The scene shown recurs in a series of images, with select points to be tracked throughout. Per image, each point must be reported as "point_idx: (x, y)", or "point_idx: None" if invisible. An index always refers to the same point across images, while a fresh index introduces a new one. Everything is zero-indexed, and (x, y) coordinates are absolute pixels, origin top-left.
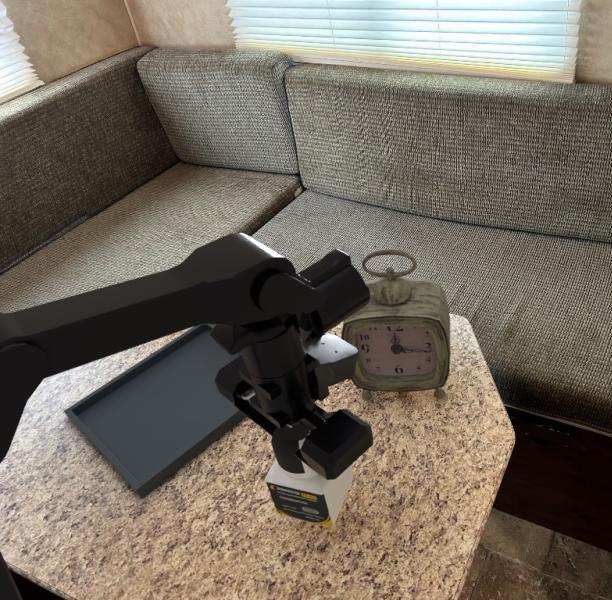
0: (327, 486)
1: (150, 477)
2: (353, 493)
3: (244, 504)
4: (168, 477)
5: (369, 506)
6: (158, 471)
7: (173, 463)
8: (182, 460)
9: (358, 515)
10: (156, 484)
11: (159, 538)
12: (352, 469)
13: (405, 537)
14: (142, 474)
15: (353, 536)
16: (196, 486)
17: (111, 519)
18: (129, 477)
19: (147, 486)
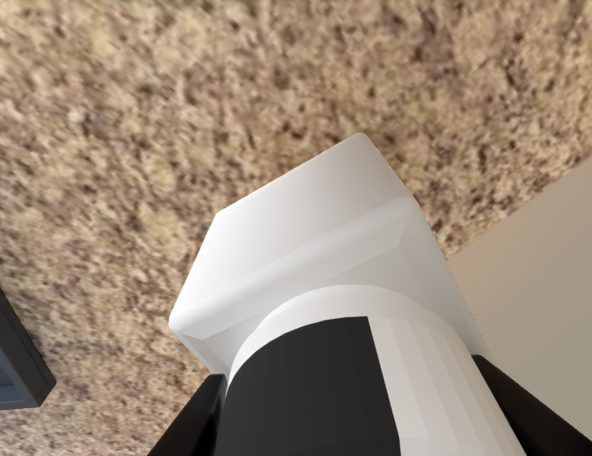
0: (493, 360)
1: (23, 386)
2: (316, 104)
3: (176, 281)
4: (32, 344)
5: (374, 99)
6: (15, 374)
7: (7, 347)
8: (5, 327)
9: (370, 134)
10: (39, 366)
11: (150, 388)
12: (371, 142)
13: (499, 90)
14: (2, 374)
15: (397, 173)
16: (81, 320)
17: (71, 417)
18: (3, 406)
19: (39, 385)
